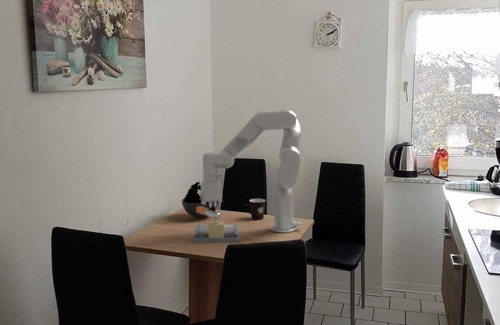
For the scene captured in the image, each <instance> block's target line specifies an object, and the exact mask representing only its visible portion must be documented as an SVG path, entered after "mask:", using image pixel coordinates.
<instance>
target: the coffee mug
mask: <svg viewBox="0 0 500 325" xmlns="http://www.w3.org/2000/svg"><path fill="white" fill-rule="evenodd" d="M247 206H249V208H250V211H248V210H247V209H246V208H247ZM243 208H244V211H245V212H246V213H248V214H250V215H251V216H250V217H251V220H255V221H261V220H264V217H265V208H266V199H263V198H251V199H250V200H249V203H246V204H245V205H244V207H243Z"/></svg>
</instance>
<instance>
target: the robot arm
mask: <svg viewBox="0 0 500 325" xmlns="http://www.w3.org/2000/svg"><path fill="white" fill-rule="evenodd" d="M272 130H273V131H274V130H282V131H283V132H282V139H281V145H280V148H279V152H278V159H279V161H280V164H279V167H278V168H276V169H275V170H274V171H273V174H272V185H273V225H271V226H270V230H271V231H273V232H276V233H292V232H295V231H296V230H297V227H303V222H300V221H295V220H294V191H293V189H294V187H295V185H296V183H297V180H298V176H299V171H300V166H301V163H302V156H301V155H302V154H301V153H300V151H299V147H300V142H301V141H300V140H301V136H302V135H301V134H302V132H301V131H302V130H301V125H300V122H299V120H298V118H297V114H296V113H295V112H293V111H292V110H290V109H285V108H282V109H281V110H279V111H262V110H261V111H257V112H256V113H255V114H254V115H253V116H252V117H251V118H250V119H249V121H248V122H247V123H246V124H245V125H244V126H243V128H242V129H241V130H240V131H238V133H237V134H236V135H235V136H234V137H233V138H232V139H231V140H230V141H229V142H228V143H227V144H226V145H225V146H224V147H223V149H221V151H220V152H219V153H216V152H204V154H203V155H202V174H203V175H202V178H203V180H202V181H201V182H200V185H201V191H200V193H199V196H200V198H201V200H202V201H201V204H204V205H207V206H208V207H209V210H212V211H215V212H217V211H216V209H215V207H216V205H217V204H220V203H222V202H223V190H222V188H223V187H222V183H221V180H220V179H221V178H222V174H219V172H220V170H219V169H220V168H221V169H229V168H231V167H233V165H235V164H234V163H235V159H236V157H237V156H238V155H239V154H241V152H242V151H243V150H245V149H246V148H248V147H250V146H251V145H253V143H255V142H256V140H257V139H258V138H259V137H260V136H261V135H262V133H263V132H265V131H272ZM211 201H212V204H211ZM217 206H218V205H217ZM216 208H217V207H216Z"/></svg>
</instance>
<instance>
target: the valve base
mask: <svg viewBox="0 0 500 325" xmlns="http://www.w3.org/2000/svg"><path fill="white" fill-rule="evenodd" d="M193 228H194V229H193V233H194V235H193V236H192V239H191V243H240V241H241V235H242V234H241V232H239V229H240V228H239V223H234V224H225V221H222V220H220V221H219V218H214V221H211V220H210V221H209V223H208V224H199V223H194V227H193Z"/></svg>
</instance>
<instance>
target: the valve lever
mask: <svg viewBox="0 0 500 325" xmlns="http://www.w3.org/2000/svg"><path fill="white" fill-rule="evenodd" d="M215 211H216V210H215ZM215 211H212V210H209V208H206V207H203V206H199V207H196V212H197V213H200V214H203V215H208V216H207V217H211V218H213V219H215V218H218V219H219V218H220V216H221V215H220V212H218V211H216V212H215Z"/></svg>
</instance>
